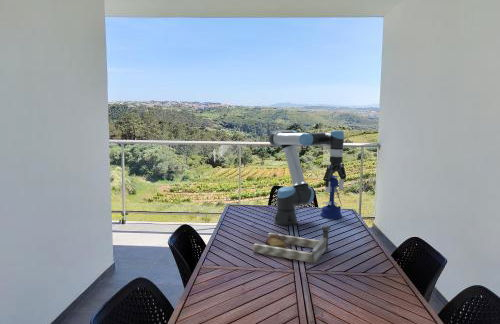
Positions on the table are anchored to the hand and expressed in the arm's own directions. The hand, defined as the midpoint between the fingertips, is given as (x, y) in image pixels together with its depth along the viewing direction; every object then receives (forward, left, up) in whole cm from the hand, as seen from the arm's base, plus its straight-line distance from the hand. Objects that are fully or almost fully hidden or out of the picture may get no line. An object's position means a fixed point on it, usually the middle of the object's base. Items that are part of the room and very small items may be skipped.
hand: (334, 190), depth 222 cm
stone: (-22, -42, -26) cm, 54 cm away
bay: (-13, -40, -26) cm, 49 cm away
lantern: (-9, +36, -26) cm, 45 cm away
